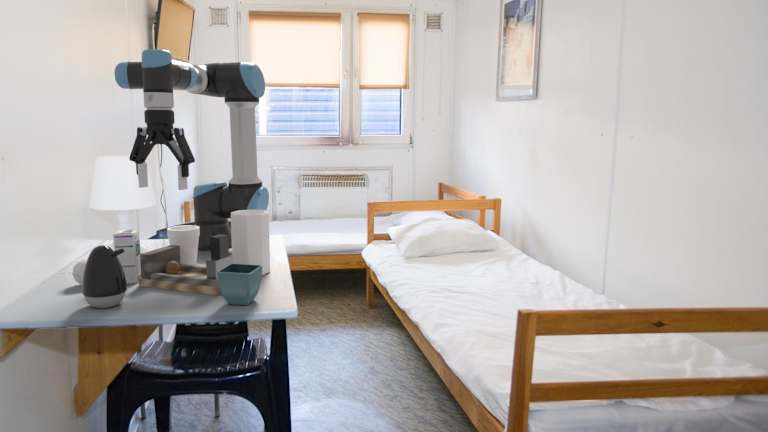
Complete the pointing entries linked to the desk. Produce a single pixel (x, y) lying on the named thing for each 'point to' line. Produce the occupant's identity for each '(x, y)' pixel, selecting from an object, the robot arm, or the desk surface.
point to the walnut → (172, 267)
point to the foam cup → (185, 242)
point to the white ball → (79, 271)
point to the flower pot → (240, 283)
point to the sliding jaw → (218, 255)
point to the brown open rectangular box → (184, 280)
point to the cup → (251, 238)
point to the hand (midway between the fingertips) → (163, 188)
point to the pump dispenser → (104, 278)
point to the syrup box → (129, 253)
